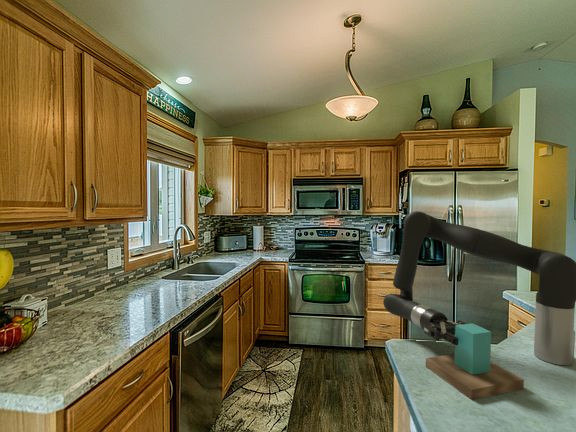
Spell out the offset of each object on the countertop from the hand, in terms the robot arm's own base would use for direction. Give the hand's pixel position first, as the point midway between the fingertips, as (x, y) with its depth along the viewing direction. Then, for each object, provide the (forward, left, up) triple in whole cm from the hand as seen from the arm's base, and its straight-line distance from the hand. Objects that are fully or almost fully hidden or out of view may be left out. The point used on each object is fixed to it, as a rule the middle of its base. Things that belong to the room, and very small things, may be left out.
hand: (469, 340), depth 86 cm
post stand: (0, +1, -10) cm, 10 cm away
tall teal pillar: (0, +1, -7) cm, 7 cm away
